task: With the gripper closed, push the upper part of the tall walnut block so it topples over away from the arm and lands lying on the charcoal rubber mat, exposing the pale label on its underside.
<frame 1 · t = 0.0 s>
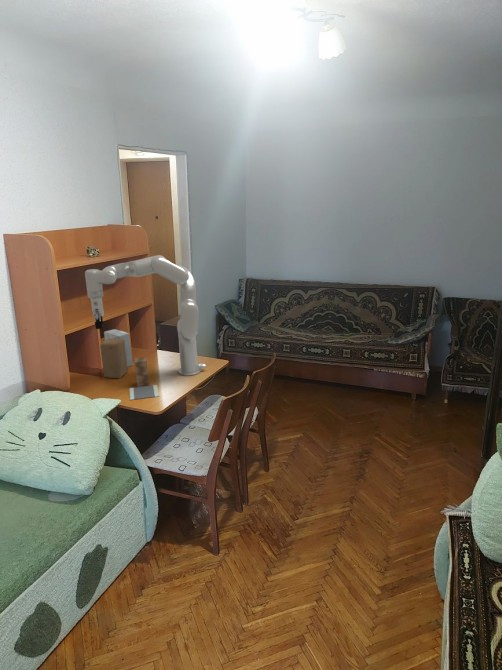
hand: (99, 326, 238), 31 cm above the table, fingers open, 9 cm apart
mat: (144, 392, 232), on the table
walnut block: (143, 384, 242), on the table
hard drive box: (120, 364, 271), on the table
wooden block: (116, 375, 256), on the table
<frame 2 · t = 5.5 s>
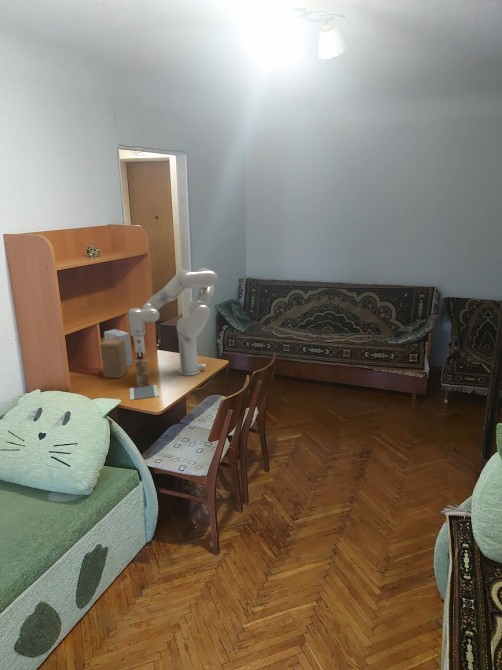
hand: (141, 364, 245), 9 cm above the table, fingers closed
walnut block: (143, 384, 242), on the table, touching gripper
everything else where it was.
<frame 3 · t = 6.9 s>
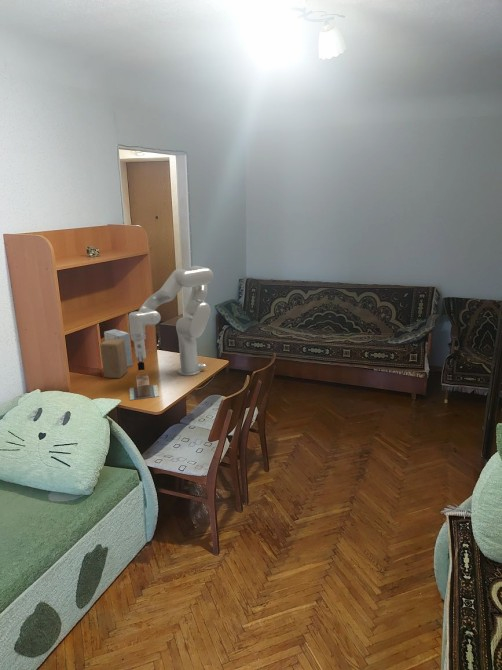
hand: (141, 369, 238), 9 cm above the table, fingers closed
walnut block: (142, 380, 239), point 3 cm above the table, tilted 90°, touching mat
everything else where it was.
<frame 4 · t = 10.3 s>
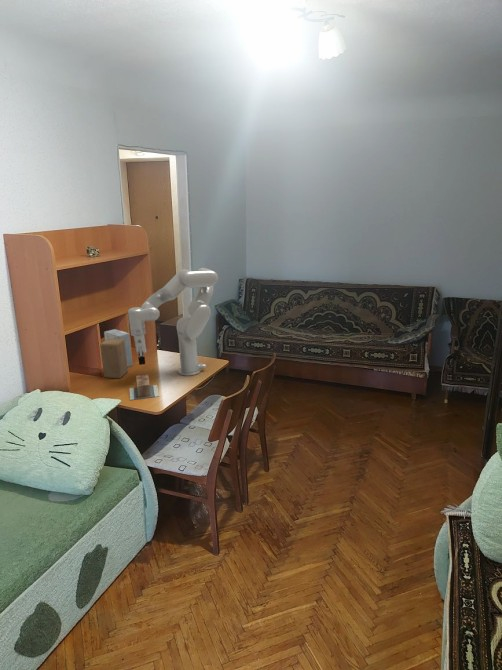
hand: (142, 363, 243), 10 cm above the table, fingers closed
nothing on the table moved.
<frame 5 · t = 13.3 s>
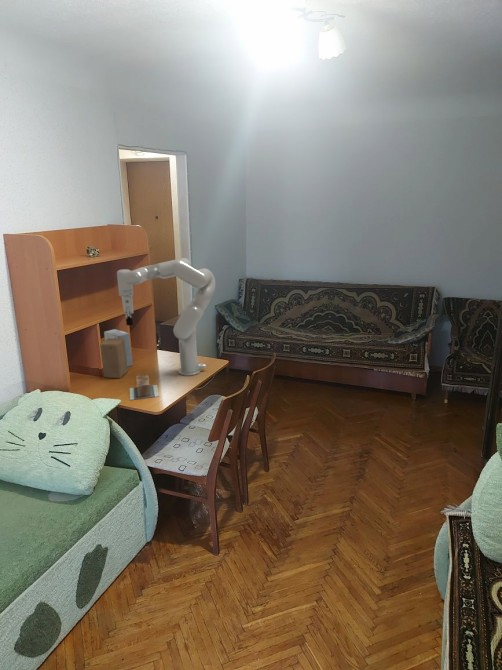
hand: (129, 324, 253), 27 cm above the table, fingers closed
nothing on the table moved.
at the end: walnut block tilted 90°; walnut block inside the target area (8.6 cm from its centre), point 3.4 cm above the table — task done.
